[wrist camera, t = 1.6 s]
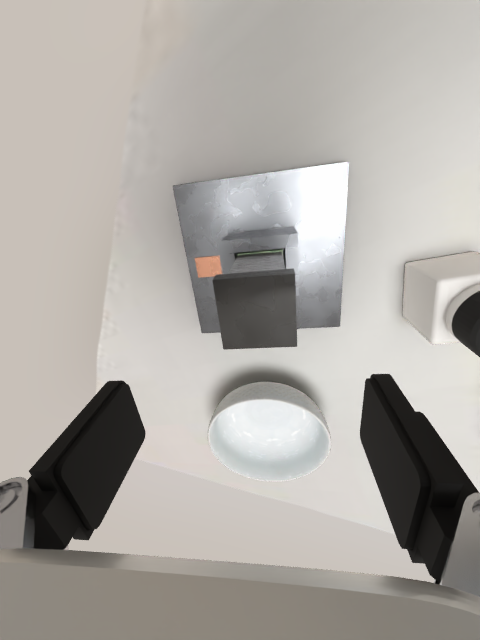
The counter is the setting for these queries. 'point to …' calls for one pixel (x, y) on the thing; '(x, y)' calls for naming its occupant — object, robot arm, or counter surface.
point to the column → (257, 302)
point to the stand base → (269, 234)
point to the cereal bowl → (269, 432)
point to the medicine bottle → (444, 299)
